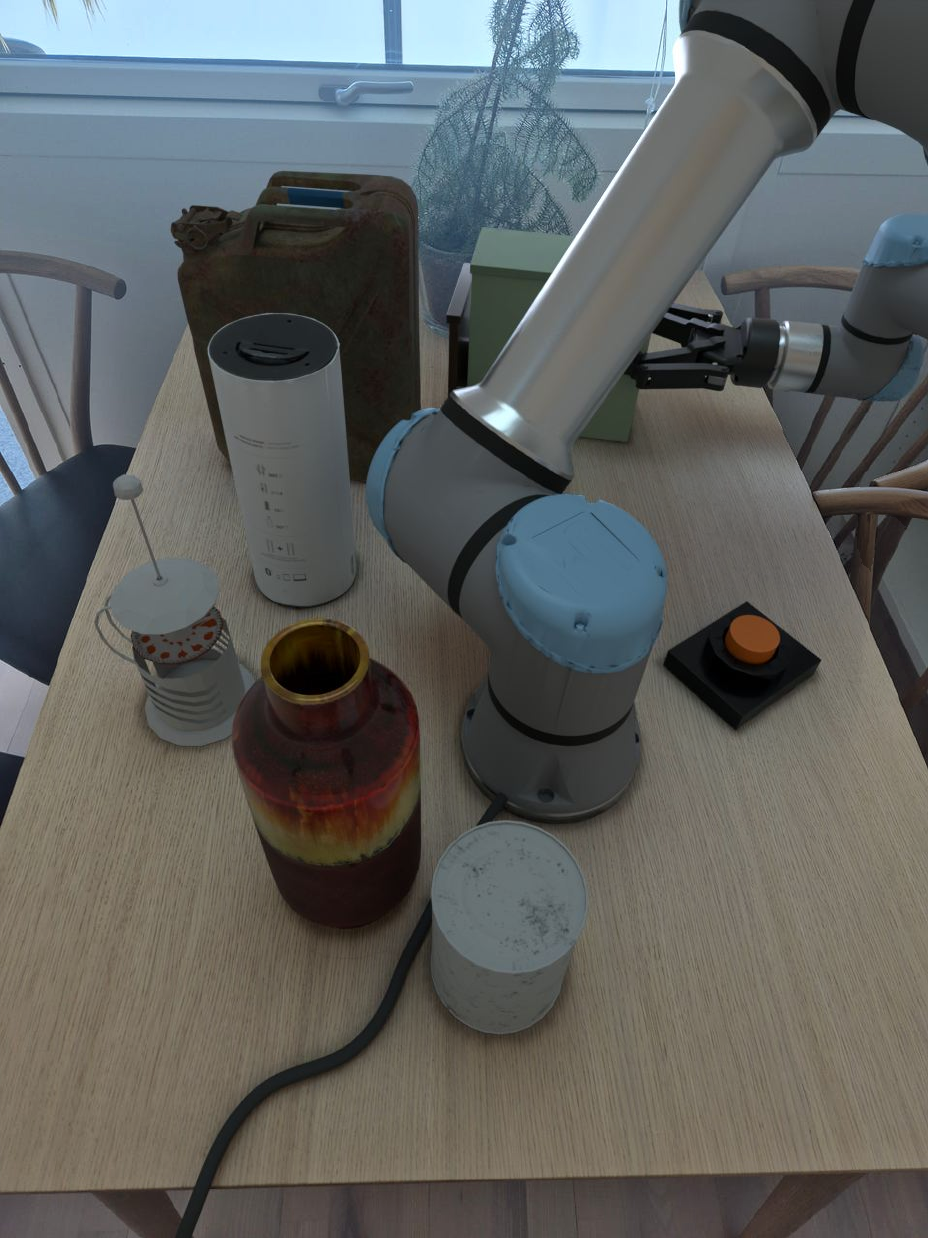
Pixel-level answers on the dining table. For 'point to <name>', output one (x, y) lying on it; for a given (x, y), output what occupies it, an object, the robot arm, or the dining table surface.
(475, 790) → the dining table surface
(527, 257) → the storage box
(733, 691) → the button block
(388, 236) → the container
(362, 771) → the vase
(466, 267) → the rack
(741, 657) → the button
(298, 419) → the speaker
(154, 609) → the french press
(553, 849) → the pale grey cylinder
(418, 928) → the robot arm
